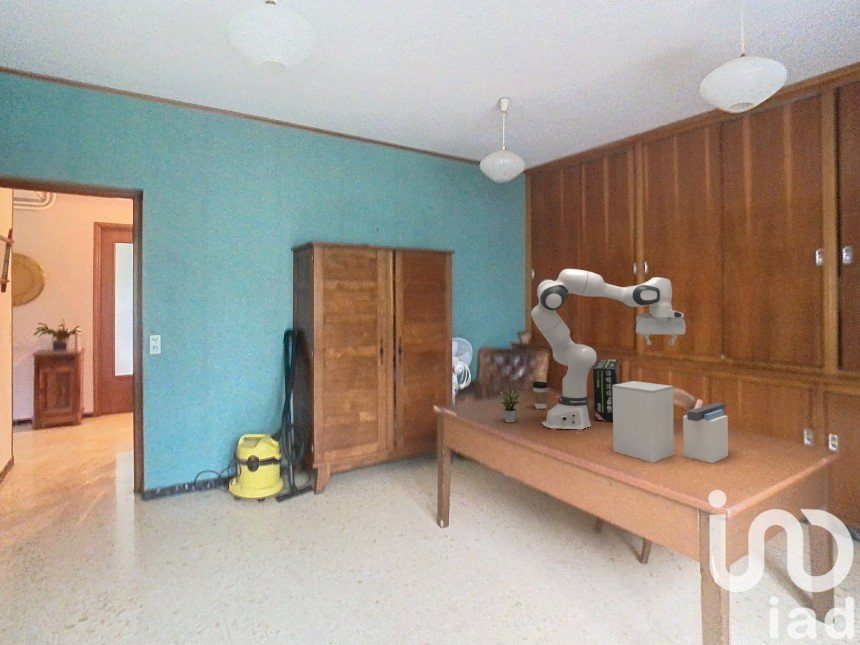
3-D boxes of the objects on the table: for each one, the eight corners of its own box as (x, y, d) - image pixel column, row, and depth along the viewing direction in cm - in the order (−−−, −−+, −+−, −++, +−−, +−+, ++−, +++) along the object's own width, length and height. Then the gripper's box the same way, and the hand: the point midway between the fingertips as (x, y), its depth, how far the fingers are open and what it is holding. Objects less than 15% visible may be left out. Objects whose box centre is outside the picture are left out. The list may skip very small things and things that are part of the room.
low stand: (699, 449, 174) (698, 406, 173) (728, 456, 166) (727, 410, 165) (683, 456, 167) (683, 410, 167) (712, 463, 159) (712, 415, 158)
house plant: (528, 425, 215) (528, 392, 215) (500, 426, 216) (499, 392, 215) (523, 418, 230) (522, 386, 229) (496, 419, 230) (495, 387, 229)
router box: (598, 406, 253) (597, 358, 252) (619, 407, 248) (619, 359, 247) (593, 421, 220) (592, 367, 219) (617, 423, 216) (616, 367, 215)
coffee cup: (534, 407, 255) (533, 380, 254) (549, 407, 252) (548, 381, 251) (531, 410, 247) (531, 383, 246) (547, 411, 244) (547, 383, 243)
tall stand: (634, 444, 182) (633, 380, 181) (674, 454, 169) (673, 386, 168) (613, 451, 174) (612, 385, 174) (653, 462, 161) (652, 390, 160)
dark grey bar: (716, 410, 174) (716, 402, 174) (724, 411, 171) (724, 403, 171) (687, 419, 162) (687, 411, 161) (696, 421, 159) (696, 412, 159)
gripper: (639, 313, 197) (638, 345, 197) (687, 313, 195) (687, 345, 196) (633, 313, 203) (633, 344, 204) (680, 313, 202) (680, 344, 202)
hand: (660, 344), depth 200 cm, fingers open, 8 cm apart
